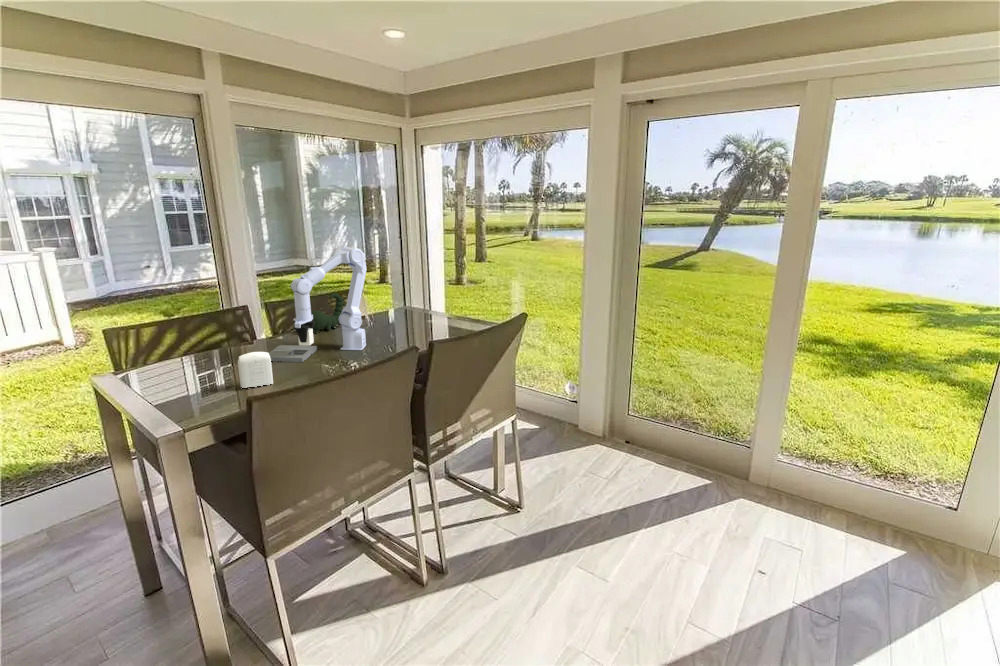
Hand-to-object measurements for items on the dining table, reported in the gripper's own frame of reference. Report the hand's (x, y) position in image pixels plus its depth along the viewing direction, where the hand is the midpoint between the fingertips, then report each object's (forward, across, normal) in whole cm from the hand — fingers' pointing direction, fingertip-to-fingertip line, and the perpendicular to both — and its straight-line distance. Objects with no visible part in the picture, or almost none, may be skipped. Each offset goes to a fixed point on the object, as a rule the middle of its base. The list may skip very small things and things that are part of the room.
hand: (305, 340), depth 190 cm
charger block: (+2, 0, 0) cm, 2 cm away
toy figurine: (+8, -42, -6) cm, 43 cm away
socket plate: (+8, -2, -8) cm, 11 cm away
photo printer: (+8, +30, -6) cm, 32 cm away
